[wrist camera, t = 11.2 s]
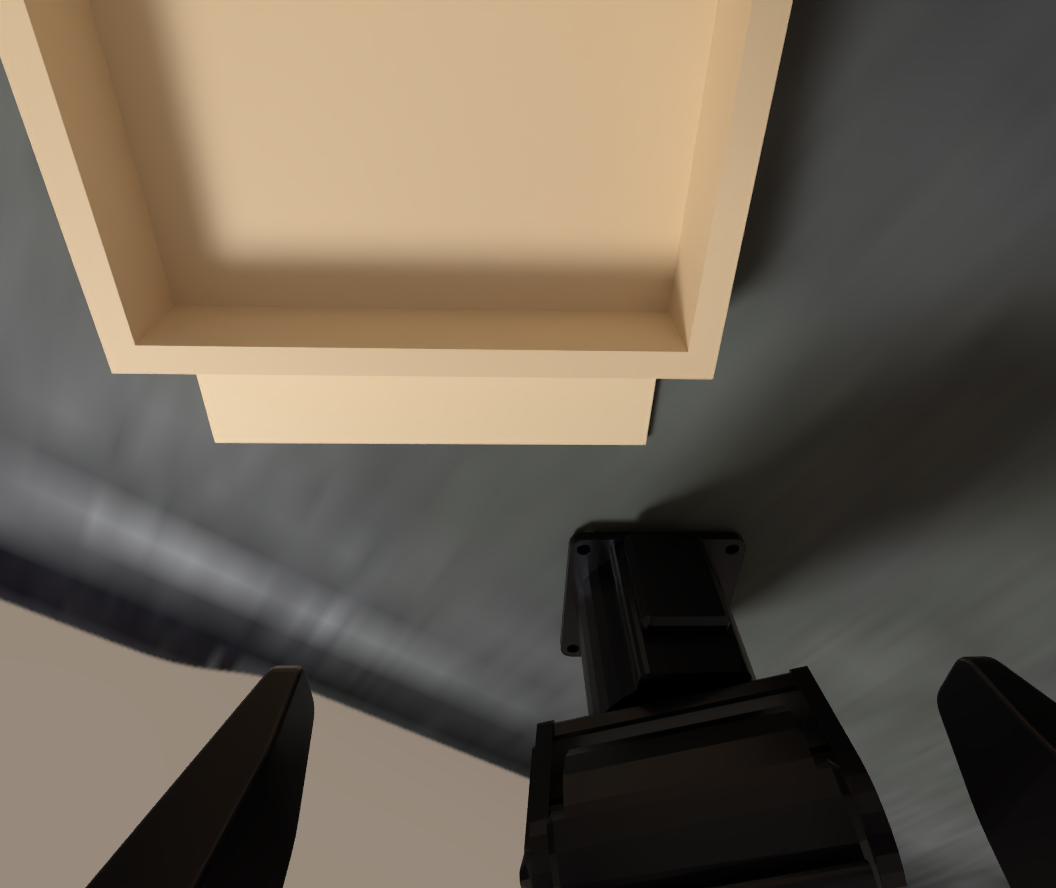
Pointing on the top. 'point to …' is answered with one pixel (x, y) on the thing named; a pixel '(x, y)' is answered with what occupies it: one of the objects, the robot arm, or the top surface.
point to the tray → (403, 202)
